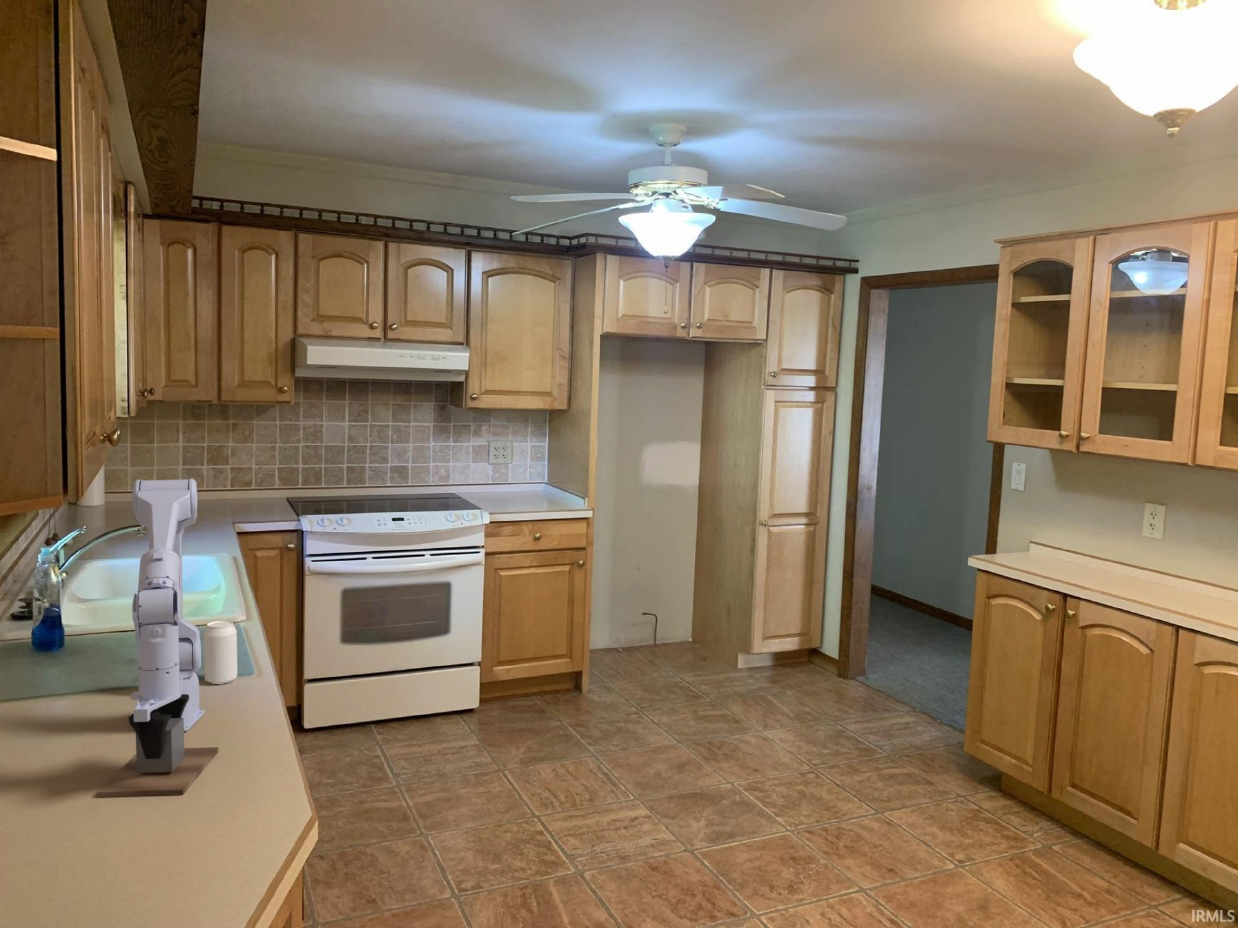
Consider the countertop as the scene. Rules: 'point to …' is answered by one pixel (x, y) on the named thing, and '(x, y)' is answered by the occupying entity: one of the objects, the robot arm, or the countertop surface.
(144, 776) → the flat brown plate
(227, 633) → the beverage can
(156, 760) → the gray rectangular prism
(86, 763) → the countertop surface
